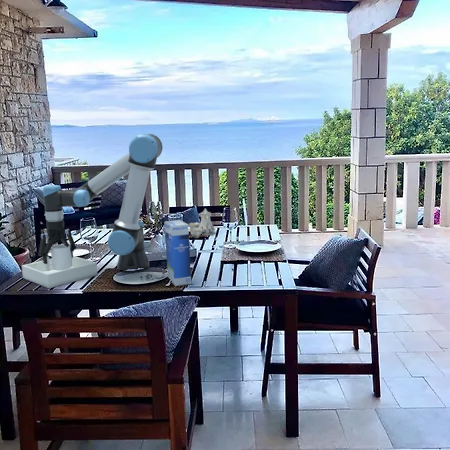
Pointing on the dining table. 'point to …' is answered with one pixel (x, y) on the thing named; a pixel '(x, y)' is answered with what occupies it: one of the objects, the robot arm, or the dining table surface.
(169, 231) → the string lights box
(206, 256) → the dining table surface
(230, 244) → the dining table surface
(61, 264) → the cup
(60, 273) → the box
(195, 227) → the chinaware
